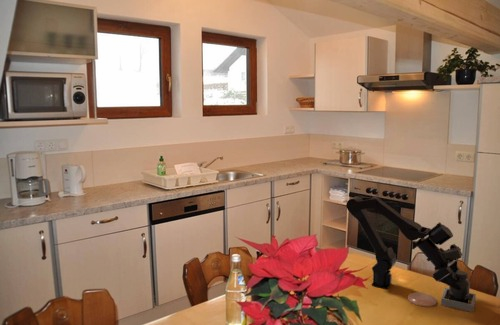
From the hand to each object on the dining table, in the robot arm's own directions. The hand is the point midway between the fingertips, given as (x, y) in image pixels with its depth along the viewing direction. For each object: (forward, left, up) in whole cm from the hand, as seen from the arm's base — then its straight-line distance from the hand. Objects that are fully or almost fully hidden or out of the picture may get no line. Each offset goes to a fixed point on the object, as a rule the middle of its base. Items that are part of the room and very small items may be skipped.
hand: (462, 285), depth 155 cm
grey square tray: (-1, 0, -7) cm, 7 cm away
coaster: (-13, -5, -7) cm, 16 cm away
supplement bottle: (-1, 0, -7) cm, 7 cm away
